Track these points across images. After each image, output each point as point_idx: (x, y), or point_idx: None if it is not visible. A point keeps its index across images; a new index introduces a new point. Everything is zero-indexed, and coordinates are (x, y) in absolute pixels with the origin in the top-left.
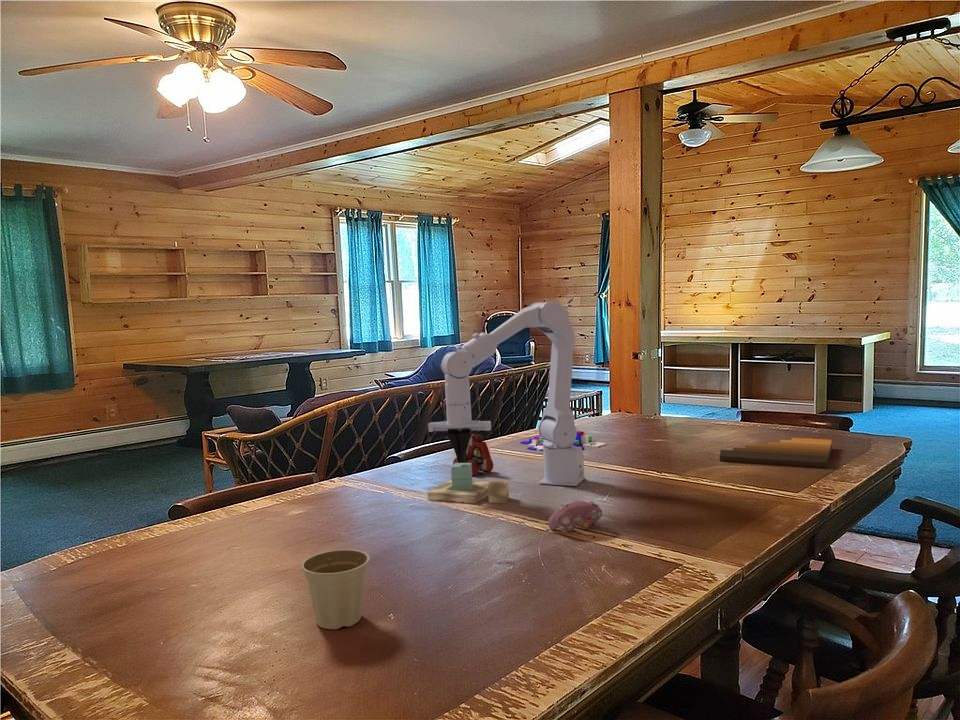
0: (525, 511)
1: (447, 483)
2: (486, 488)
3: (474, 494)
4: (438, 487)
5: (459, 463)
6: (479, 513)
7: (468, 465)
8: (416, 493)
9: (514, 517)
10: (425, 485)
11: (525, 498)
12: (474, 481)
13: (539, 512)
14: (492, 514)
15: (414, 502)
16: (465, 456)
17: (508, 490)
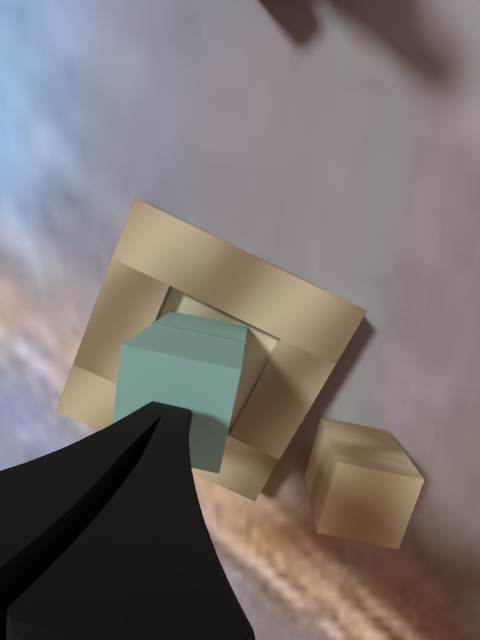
0: (416, 586)
1: (123, 283)
2: (308, 409)
3: (253, 485)
4: (90, 347)
5: (155, 368)
6: (266, 574)
7: (220, 438)
8: (8, 291)
9: (370, 628)
10: (17, 152)
11: (451, 452)
12: (257, 272)
13: (458, 604)
14: (306, 590)
15: (31, 416)
16: (189, 423)
17: (401, 452)
